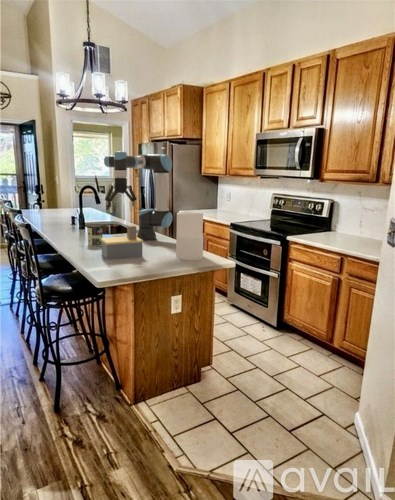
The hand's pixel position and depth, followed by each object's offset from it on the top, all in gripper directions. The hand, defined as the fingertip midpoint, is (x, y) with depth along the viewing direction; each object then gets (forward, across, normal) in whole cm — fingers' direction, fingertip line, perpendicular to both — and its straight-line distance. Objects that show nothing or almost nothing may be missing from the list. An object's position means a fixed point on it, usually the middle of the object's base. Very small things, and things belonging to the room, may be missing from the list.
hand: (121, 211), depth 223 cm
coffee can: (+28, +5, -33) cm, 44 cm away
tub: (+27, +3, +6) cm, 28 cm away
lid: (+19, +3, +6) cm, 20 cm away
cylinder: (+27, -35, +27) cm, 52 cm away
